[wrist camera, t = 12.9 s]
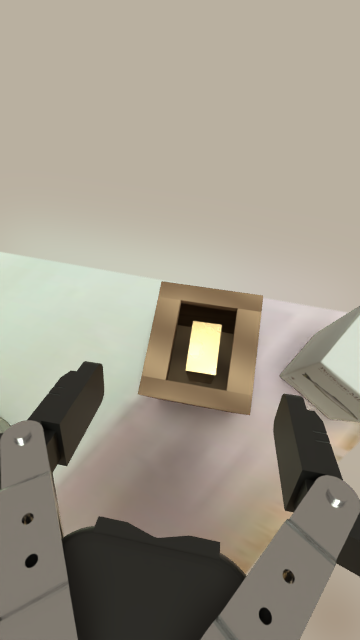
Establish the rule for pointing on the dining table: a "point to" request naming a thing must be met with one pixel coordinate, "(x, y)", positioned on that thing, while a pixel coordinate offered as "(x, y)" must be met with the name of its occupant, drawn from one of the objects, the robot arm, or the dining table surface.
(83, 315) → the dining table surface
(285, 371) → the supplement box
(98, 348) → the dining table surface
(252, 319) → the brown wooden bin
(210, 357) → the gold rectangular block
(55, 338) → the dining table surface
